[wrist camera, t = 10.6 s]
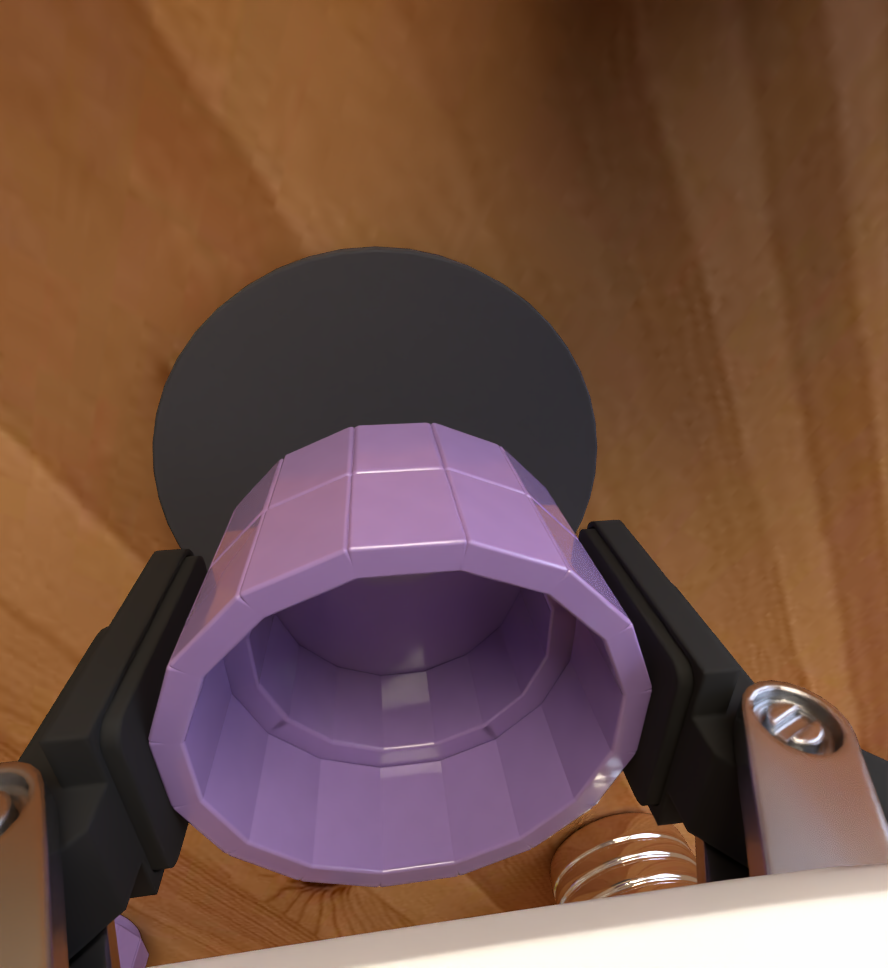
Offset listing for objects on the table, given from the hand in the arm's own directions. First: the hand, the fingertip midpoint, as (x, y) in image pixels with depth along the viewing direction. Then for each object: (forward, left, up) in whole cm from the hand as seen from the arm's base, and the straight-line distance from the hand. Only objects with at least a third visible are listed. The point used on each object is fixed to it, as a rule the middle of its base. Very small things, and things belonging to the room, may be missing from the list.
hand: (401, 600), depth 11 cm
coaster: (0, 0, -6) cm, 6 cm away
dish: (0, 0, -1) cm, 1 cm away
